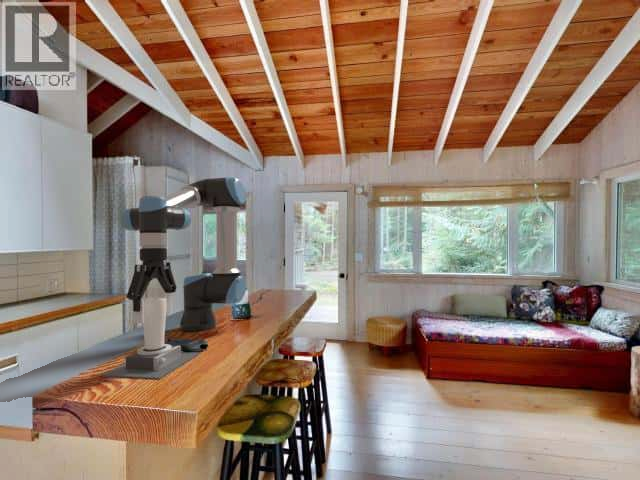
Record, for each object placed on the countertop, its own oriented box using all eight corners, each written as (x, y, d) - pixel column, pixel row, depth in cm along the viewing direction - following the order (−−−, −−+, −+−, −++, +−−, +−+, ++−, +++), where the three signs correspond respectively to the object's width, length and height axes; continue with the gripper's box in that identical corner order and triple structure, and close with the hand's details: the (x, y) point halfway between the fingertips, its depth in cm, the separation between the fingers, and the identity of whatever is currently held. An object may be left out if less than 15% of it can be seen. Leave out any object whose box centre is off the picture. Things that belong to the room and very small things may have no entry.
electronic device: (159, 356, 119) (197, 353, 115) (158, 340, 120) (196, 335, 116) (177, 352, 128) (213, 349, 124) (176, 336, 129) (212, 332, 125)
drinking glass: (147, 345, 110) (147, 297, 110) (170, 344, 110) (169, 296, 110) (138, 352, 103) (137, 300, 103) (162, 351, 103) (161, 299, 104)
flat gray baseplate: (151, 352, 119) (151, 337, 119) (200, 353, 116) (200, 339, 116) (100, 376, 97) (99, 359, 97) (159, 379, 94) (159, 361, 94)
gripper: (166, 247, 120) (167, 309, 120) (111, 248, 95) (112, 327, 95) (187, 246, 119) (187, 310, 118) (136, 247, 94) (137, 327, 94)
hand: (154, 317), depth 107 cm, fingers open, 13 cm apart
